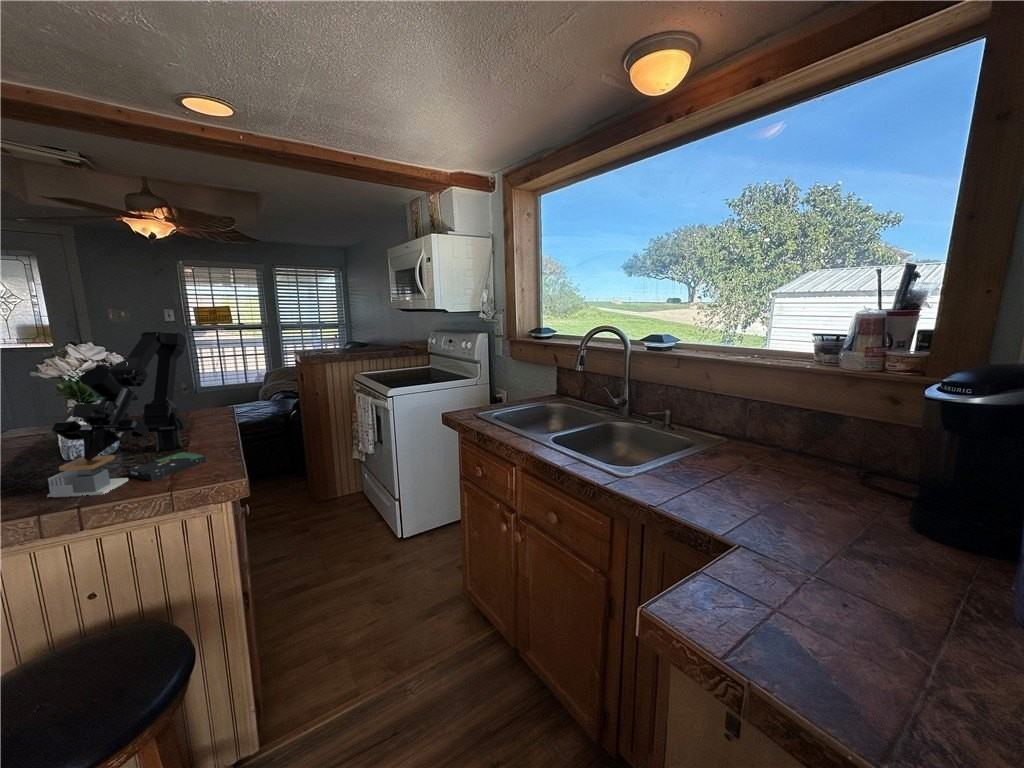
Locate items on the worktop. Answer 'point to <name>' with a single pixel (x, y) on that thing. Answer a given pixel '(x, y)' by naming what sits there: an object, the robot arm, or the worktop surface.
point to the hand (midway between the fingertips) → (87, 459)
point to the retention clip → (87, 465)
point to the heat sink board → (82, 484)
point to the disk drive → (166, 466)
